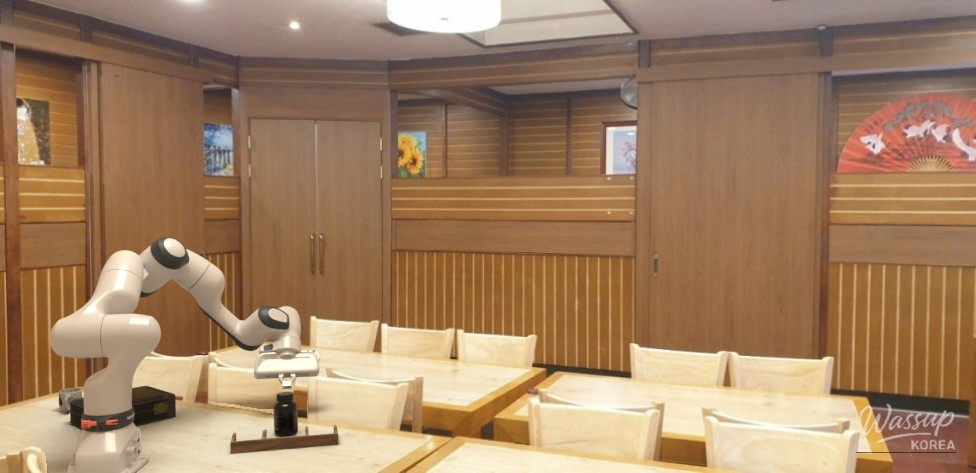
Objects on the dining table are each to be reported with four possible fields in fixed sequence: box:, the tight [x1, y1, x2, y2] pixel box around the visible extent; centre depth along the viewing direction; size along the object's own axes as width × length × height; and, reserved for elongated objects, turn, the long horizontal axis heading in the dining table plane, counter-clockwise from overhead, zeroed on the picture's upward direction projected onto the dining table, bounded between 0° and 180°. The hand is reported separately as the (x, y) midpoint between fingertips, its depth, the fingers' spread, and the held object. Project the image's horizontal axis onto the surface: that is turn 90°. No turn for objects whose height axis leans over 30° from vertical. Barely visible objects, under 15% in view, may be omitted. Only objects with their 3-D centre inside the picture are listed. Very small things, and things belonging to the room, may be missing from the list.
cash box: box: [69, 385, 177, 430], centre depth 231 cm, size 25×20×8 cm
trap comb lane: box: [229, 424, 339, 455], centre depth 211 cm, size 18×29×3 cm, turn 105°
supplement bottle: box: [273, 391, 299, 437], centre depth 216 cm, size 7×7×12 cm
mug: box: [58, 387, 83, 414], centre depth 241 cm, size 10×7×7 cm
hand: (287, 388), depth 232 cm, fingers closed
